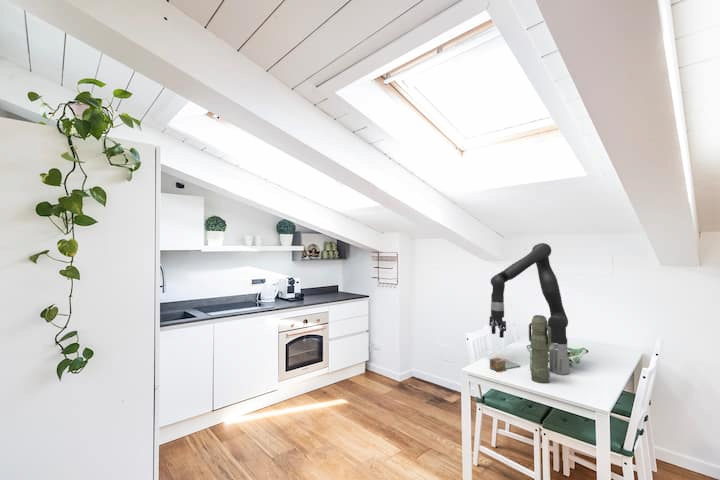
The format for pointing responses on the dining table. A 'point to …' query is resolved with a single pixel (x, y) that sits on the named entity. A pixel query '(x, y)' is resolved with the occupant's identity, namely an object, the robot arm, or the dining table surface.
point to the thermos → (540, 348)
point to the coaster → (510, 365)
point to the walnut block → (497, 364)
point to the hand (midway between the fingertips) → (497, 335)
